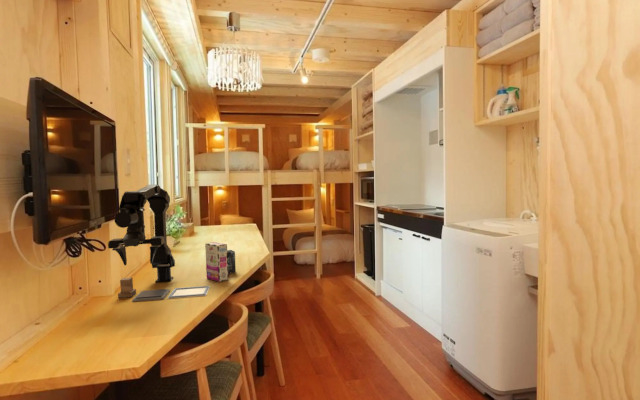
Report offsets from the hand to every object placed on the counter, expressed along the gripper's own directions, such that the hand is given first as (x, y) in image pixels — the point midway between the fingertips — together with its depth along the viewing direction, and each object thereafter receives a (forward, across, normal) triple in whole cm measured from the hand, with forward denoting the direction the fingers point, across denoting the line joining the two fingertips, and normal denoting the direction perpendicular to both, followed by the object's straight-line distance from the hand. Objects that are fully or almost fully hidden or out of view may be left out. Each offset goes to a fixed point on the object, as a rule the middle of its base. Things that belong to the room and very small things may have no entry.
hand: (138, 264), depth 140 cm
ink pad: (+13, +4, +1) cm, 14 cm away
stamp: (+14, -6, +5) cm, 16 cm away
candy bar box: (+14, +27, +20) cm, 36 cm away
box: (+14, +30, +31) cm, 46 cm away
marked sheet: (+13, +18, +2) cm, 22 cm away
